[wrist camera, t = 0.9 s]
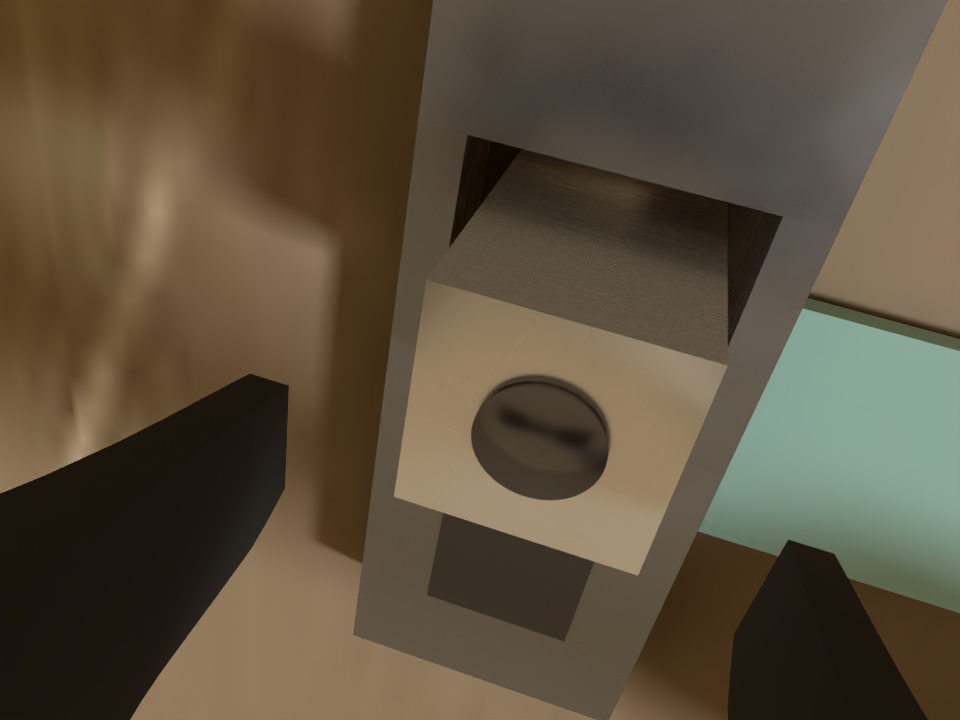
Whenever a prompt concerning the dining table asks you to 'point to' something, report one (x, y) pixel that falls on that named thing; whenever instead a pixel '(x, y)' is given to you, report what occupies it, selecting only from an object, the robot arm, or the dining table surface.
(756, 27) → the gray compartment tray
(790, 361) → the mat
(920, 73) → the dining table surface
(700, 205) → the cube with screw head
